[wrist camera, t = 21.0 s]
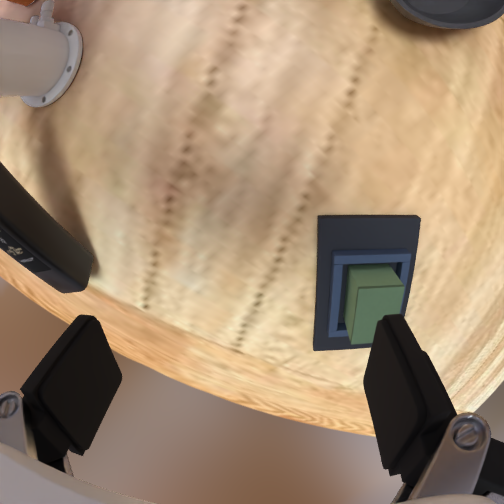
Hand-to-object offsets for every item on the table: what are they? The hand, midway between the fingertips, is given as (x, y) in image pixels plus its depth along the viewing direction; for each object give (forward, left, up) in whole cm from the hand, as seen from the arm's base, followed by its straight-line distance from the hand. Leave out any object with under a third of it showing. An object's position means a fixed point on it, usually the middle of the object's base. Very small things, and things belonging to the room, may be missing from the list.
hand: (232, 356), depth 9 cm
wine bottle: (+8, -26, -22) cm, 35 cm away
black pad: (+11, +11, -24) cm, 29 cm away
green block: (+11, +11, -23) cm, 28 cm away
